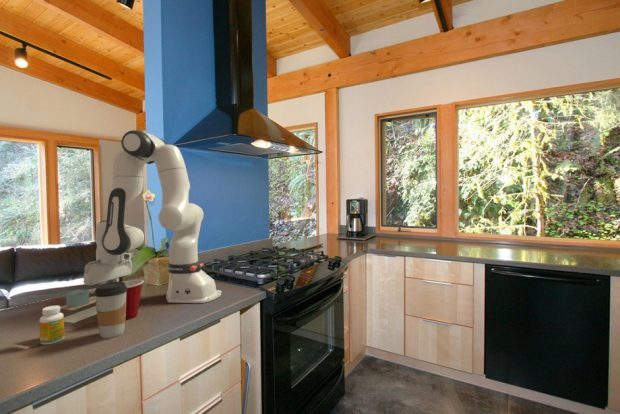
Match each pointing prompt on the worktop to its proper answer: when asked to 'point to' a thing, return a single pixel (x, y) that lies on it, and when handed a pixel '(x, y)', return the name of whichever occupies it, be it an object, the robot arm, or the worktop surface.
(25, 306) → the worktop surface
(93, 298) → the oak strip
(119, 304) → the coffee cup
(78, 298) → the teal block
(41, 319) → the supplement bottle
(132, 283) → the plastic cup
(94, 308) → the grey block
